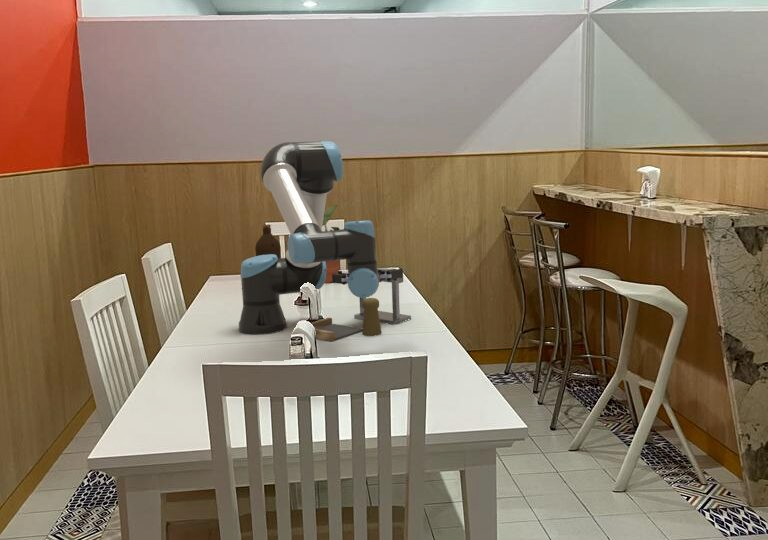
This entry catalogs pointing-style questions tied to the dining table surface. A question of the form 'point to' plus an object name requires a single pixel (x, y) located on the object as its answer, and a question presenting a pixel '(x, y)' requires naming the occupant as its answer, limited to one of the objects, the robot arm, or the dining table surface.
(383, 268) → the drop flap
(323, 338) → the wooden picture frame
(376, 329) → the cork
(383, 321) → the flap stand
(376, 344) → the dining table surface
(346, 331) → the mat
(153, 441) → the dining table surface
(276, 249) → the olive oil
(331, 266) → the potted plant
